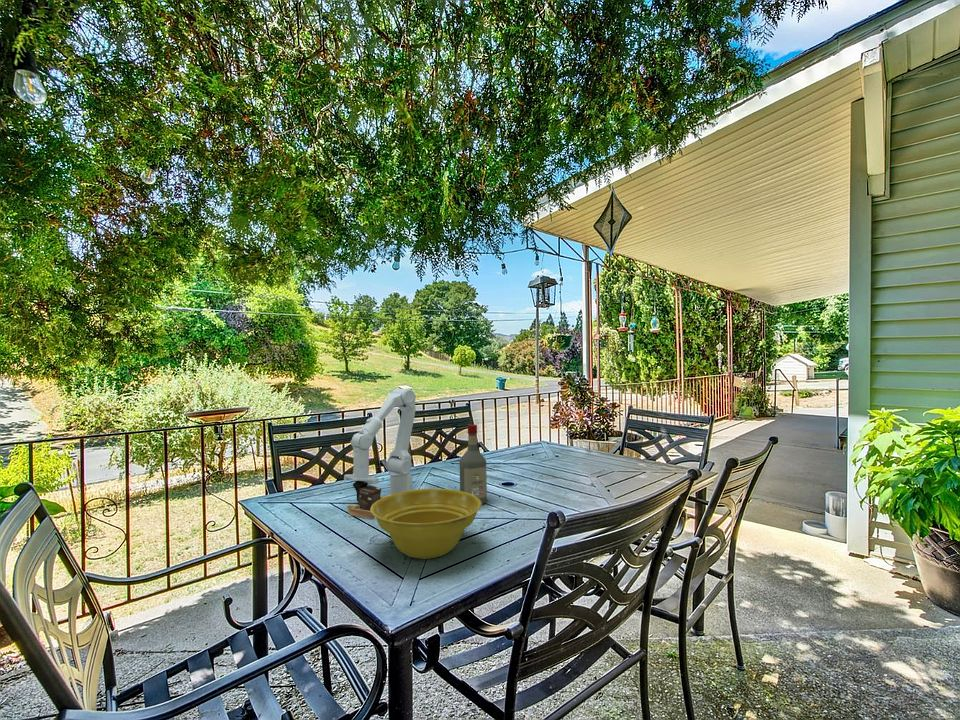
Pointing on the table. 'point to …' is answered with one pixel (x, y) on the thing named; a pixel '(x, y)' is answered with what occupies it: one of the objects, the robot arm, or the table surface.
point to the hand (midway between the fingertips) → (360, 500)
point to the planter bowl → (426, 519)
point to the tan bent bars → (360, 511)
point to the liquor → (473, 468)
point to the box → (368, 496)
